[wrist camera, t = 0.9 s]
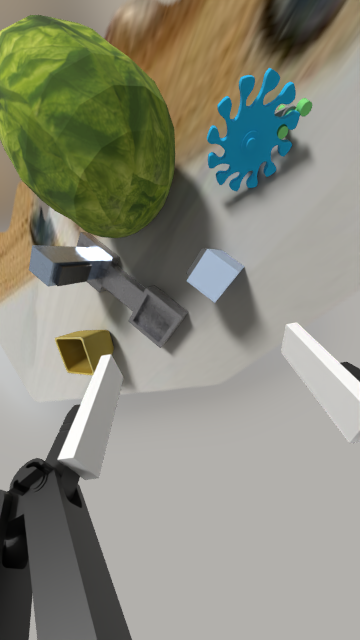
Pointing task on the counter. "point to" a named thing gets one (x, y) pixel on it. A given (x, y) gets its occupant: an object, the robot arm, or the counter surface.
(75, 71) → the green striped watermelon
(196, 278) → the blue block
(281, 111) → the blue splash shape
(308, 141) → the counter surface
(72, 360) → the flower pot
